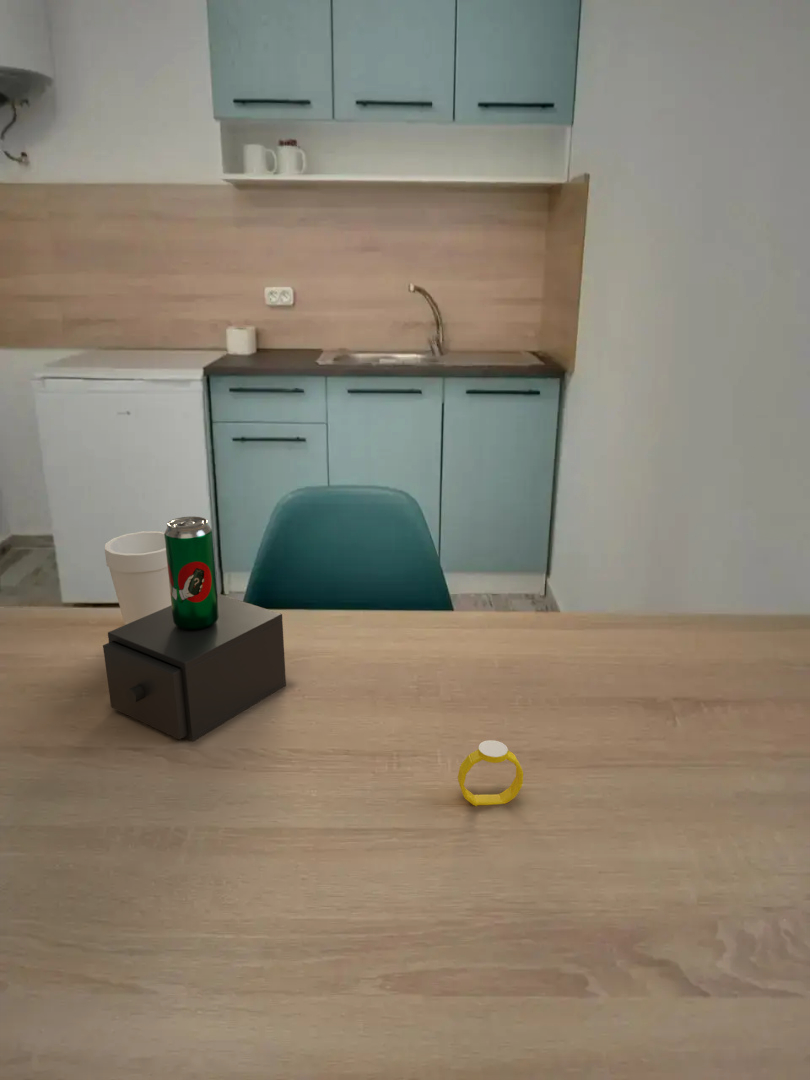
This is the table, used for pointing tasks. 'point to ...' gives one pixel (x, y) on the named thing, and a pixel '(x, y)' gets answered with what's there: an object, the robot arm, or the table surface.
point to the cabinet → (215, 659)
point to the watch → (493, 754)
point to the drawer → (146, 689)
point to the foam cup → (139, 573)
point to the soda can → (191, 573)
